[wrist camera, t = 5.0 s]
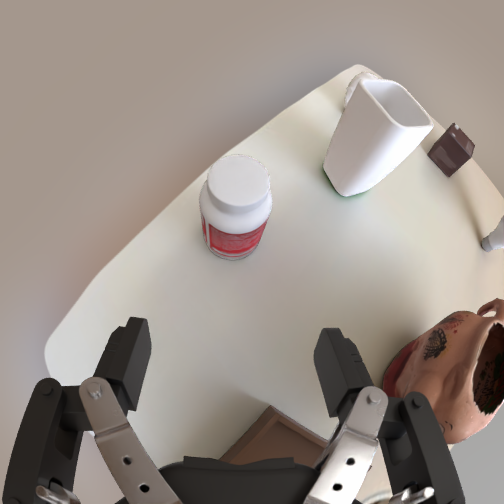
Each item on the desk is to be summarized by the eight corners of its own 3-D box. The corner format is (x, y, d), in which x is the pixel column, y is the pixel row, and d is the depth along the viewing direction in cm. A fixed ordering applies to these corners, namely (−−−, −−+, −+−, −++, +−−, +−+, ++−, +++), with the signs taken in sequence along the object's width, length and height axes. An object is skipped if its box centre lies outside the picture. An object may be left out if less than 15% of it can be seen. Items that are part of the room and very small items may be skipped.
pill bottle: (270, 241, 30) (297, 189, 20) (224, 272, 28) (228, 232, 18) (238, 200, 31) (247, 136, 21) (193, 227, 30) (181, 168, 19)
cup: (376, 194, 34) (439, 127, 20) (337, 207, 33) (398, 130, 19) (351, 153, 36) (398, 80, 22) (310, 161, 34) (352, 76, 20)
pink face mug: (424, 280, 31) (501, 246, 18) (466, 332, 29) (537, 318, 16) (340, 408, 25) (419, 442, 12) (396, 451, 23) (470, 481, 10)
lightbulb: (470, 241, 35) (515, 216, 24) (479, 224, 36) (518, 200, 26) (485, 269, 33) (530, 249, 23) (493, 250, 35) (534, 230, 25)
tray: (198, 478, 21) (196, 491, 18) (270, 404, 25) (276, 412, 22) (294, 523, 19) (301, 536, 16) (360, 458, 23) (372, 466, 20)
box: (448, 178, 38) (471, 158, 31) (426, 155, 39) (448, 131, 32) (454, 165, 40) (475, 145, 33) (434, 143, 41) (453, 121, 34)
